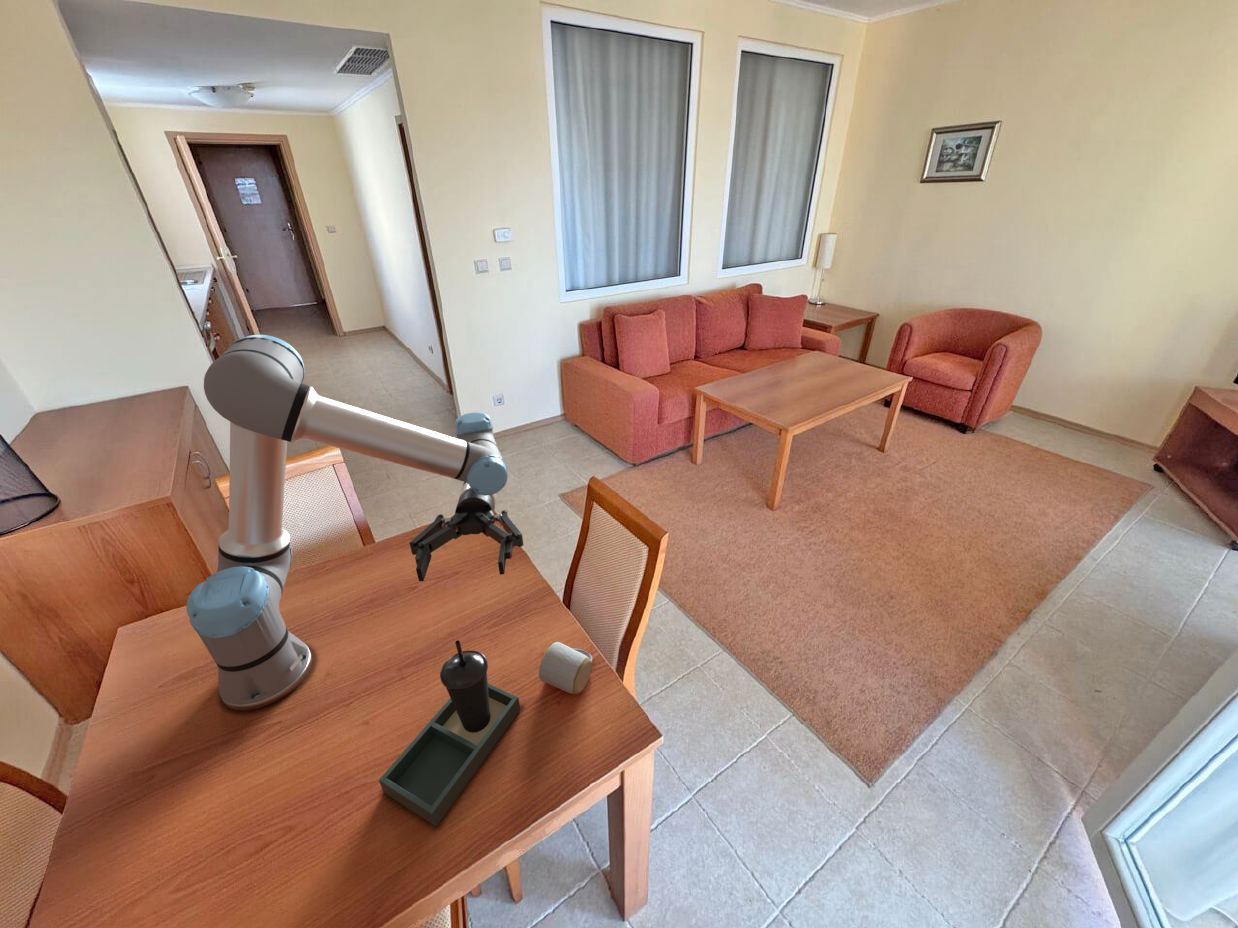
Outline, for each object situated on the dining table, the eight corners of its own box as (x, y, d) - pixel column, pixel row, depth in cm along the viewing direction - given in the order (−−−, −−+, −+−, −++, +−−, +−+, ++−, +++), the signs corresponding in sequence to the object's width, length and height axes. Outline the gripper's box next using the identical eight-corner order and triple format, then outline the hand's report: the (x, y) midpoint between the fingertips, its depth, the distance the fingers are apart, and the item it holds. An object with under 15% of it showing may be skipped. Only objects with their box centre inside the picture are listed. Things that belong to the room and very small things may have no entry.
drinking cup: (453, 707, 91) (432, 630, 81) (496, 695, 93) (480, 619, 83) (454, 746, 85) (432, 667, 75) (500, 732, 87) (483, 654, 77)
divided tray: (383, 792, 79) (378, 780, 77) (473, 686, 96) (470, 674, 94) (436, 826, 75) (431, 813, 73) (520, 709, 92) (518, 696, 90)
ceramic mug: (576, 704, 92) (574, 676, 88) (539, 688, 95) (536, 661, 92) (602, 662, 101) (601, 635, 97) (567, 648, 104) (565, 622, 100)
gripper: (538, 514, 106) (536, 582, 88) (418, 523, 104) (390, 594, 85) (535, 484, 103) (532, 548, 84) (411, 492, 100) (379, 560, 82)
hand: (460, 571), depth 85 cm, fingers open, 13 cm apart
